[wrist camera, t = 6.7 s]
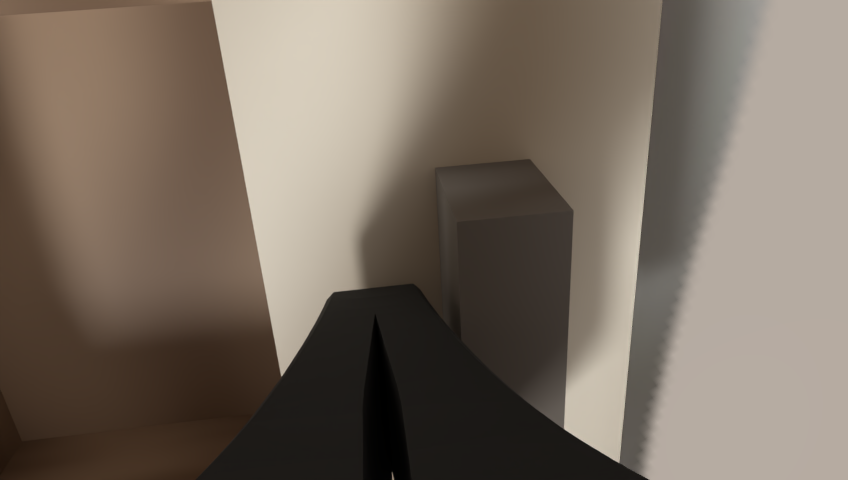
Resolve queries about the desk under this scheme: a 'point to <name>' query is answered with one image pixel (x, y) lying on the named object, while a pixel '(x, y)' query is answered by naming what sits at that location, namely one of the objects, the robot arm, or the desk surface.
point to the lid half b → (456, 175)
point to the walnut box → (123, 245)
